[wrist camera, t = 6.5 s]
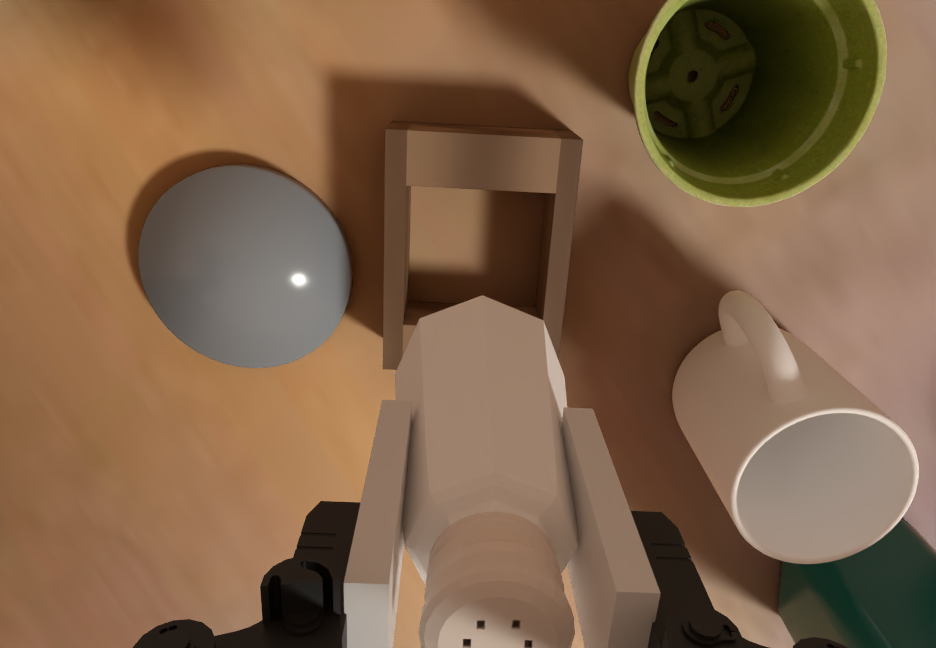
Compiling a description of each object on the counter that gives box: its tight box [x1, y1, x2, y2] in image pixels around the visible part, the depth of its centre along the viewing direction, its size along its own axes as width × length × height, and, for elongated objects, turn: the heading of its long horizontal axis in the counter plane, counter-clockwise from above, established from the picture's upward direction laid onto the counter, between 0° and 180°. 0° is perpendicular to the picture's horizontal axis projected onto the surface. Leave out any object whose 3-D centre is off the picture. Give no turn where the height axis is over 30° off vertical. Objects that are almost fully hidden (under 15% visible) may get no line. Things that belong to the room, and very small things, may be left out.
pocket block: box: [383, 121, 583, 370], centre depth 36 cm, size 9×12×4 cm
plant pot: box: [628, 0, 887, 207], centre depth 30 cm, size 9×9×9 cm
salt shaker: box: [395, 295, 578, 648], centre depth 18 cm, size 5×5×11 cm
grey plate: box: [138, 164, 353, 368], centre depth 37 cm, size 11×11×1 cm
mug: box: [672, 290, 919, 564], centre depth 35 cm, size 12×8×10 cm
